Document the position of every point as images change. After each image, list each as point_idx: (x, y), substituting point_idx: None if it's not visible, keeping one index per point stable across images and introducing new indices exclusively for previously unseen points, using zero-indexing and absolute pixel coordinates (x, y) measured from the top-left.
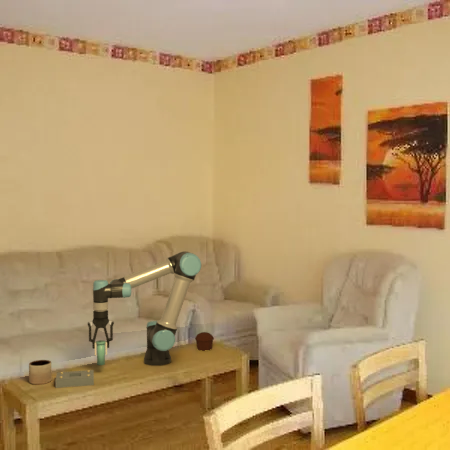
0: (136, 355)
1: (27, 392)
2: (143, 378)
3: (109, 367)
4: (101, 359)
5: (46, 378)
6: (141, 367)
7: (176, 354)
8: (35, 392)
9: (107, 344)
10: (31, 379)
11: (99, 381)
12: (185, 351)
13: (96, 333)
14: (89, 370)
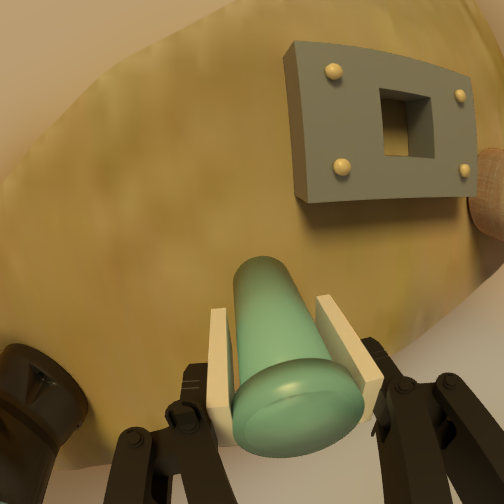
0: None
1: (499, 79)
2: (25, 160)
3: None
4: (261, 275)
5: (492, 155)
6: (68, 337)
7: None
8: (484, 65)
9: (203, 393)
10: None
11: (254, 115)
12: None
13: (418, 499)
14: (336, 167)
